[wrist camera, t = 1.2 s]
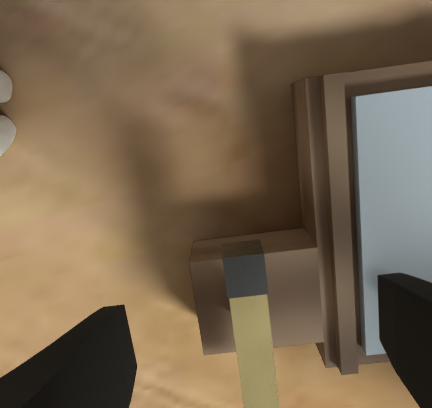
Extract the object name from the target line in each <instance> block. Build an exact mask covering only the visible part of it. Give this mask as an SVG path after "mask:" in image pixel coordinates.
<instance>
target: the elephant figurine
mask: <svg viewBox="0 0 432 408" xmlns="http://www.w3.org/2000/svg"><path fill="white" fill-rule="evenodd" d="M11 95H12V82H11V79H10V77H9V76H8V75H7V74H6V73H5V72H4V71H1V70H0V103H3V102H7V101H9V100H10V98H11ZM15 134H16V127H15V125H14V124H13V122H12V121H11V120H10V119H9V118H8V117H6V116H1V115H0V156H1V155H2V154H3V153H4V152H5V151H6V150H7V149H8V148H9V146H10V145H11V144H12V143H13V142H14V138H15Z"/></svg>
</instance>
